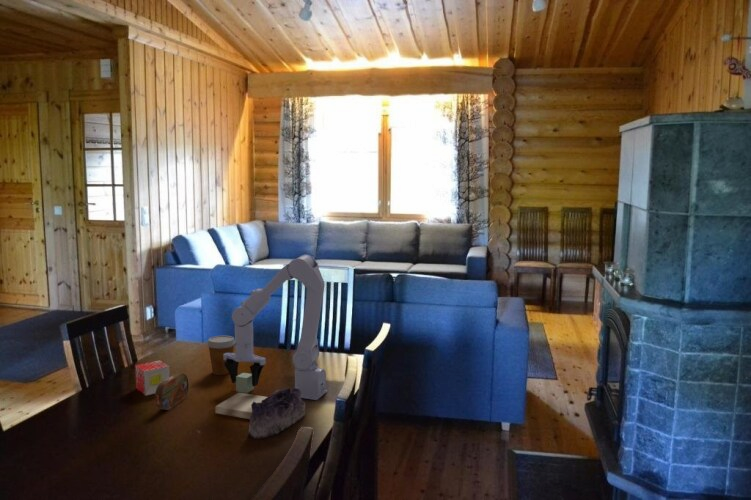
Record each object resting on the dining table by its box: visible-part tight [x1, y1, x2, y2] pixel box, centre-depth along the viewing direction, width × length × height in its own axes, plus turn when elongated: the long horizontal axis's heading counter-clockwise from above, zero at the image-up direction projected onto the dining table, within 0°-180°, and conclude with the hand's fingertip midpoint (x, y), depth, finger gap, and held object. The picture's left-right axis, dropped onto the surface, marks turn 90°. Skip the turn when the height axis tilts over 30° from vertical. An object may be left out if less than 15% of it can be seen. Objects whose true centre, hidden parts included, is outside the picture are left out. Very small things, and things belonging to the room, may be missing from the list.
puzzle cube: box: [135, 360, 171, 396], centre depth 190 cm, size 8×8×8 cm
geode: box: [248, 387, 307, 440], centre depth 164 cm, size 20×12×10 cm, turn 158°
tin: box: [154, 373, 189, 411], centre depth 178 cm, size 15×3×8 cm, turn 168°
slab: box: [214, 392, 269, 420], centre depth 175 cm, size 12×12×2 cm
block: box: [235, 372, 255, 394], centre depth 190 cm, size 4×4×5 cm
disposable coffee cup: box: [206, 335, 235, 376], centre depth 207 cm, size 10×10×12 cm
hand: (244, 383), depth 190 cm, fingers open, 7 cm apart
